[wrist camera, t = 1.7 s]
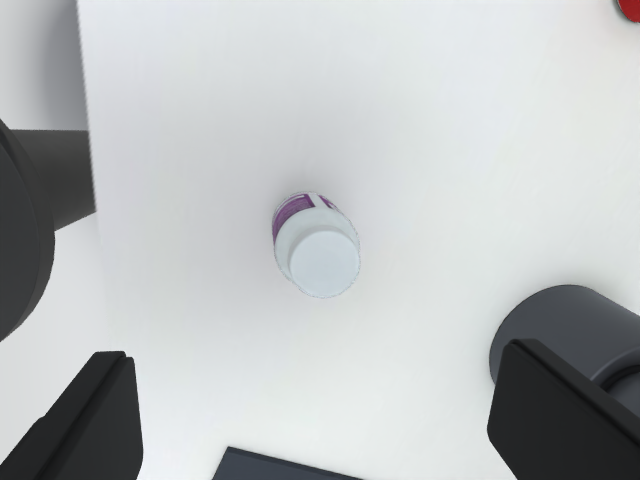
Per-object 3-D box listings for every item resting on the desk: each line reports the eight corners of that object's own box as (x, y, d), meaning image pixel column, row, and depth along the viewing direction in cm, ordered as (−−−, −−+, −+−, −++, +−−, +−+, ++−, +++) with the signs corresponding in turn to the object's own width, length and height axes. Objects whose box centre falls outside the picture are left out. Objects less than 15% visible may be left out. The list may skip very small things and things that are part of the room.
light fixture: (725, 617, 24) (611, 534, 20) (547, 430, 39) (462, 361, 35) (897, 479, 23) (811, 358, 19) (642, 340, 38) (564, 257, 34)
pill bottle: (272, 256, 30) (275, 312, 21) (271, 190, 28) (274, 218, 19) (338, 255, 31) (369, 308, 21) (340, 191, 29) (375, 218, 20)
